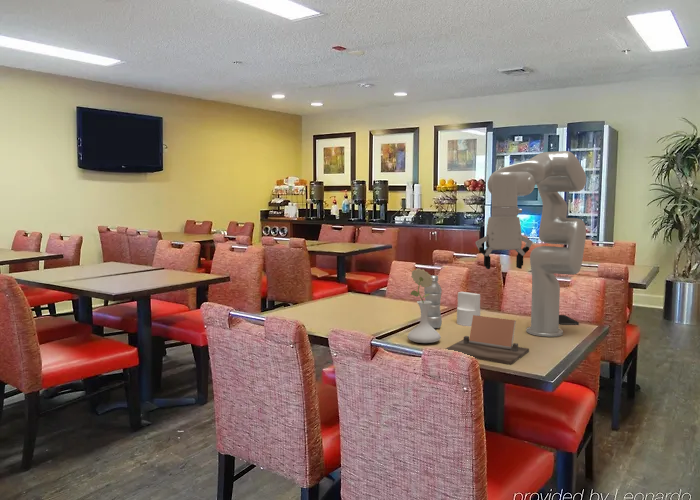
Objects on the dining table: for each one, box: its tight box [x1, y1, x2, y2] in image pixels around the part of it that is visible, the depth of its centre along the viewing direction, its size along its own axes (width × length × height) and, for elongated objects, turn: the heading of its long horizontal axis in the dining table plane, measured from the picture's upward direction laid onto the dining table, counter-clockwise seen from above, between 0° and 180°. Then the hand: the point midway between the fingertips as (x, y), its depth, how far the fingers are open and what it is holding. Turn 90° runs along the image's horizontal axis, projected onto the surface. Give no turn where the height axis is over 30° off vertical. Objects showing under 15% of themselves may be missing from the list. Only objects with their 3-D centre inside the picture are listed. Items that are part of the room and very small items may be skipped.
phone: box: [559, 314, 580, 326], centre depth 222 cm, size 8×1×15 cm
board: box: [445, 335, 530, 366], centre depth 177 cm, size 17×22×3 cm
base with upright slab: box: [456, 291, 481, 327], centre depth 217 cm, size 9×9×12 cm
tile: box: [469, 315, 517, 350], centre depth 180 cm, size 9×14×1 cm
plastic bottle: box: [423, 274, 443, 329], centre depth 209 cm, size 6×7×20 cm
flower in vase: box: [407, 267, 442, 344], centre depth 190 cm, size 13×11×25 cm
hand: (503, 268), depth 171 cm, fingers open, 9 cm apart
